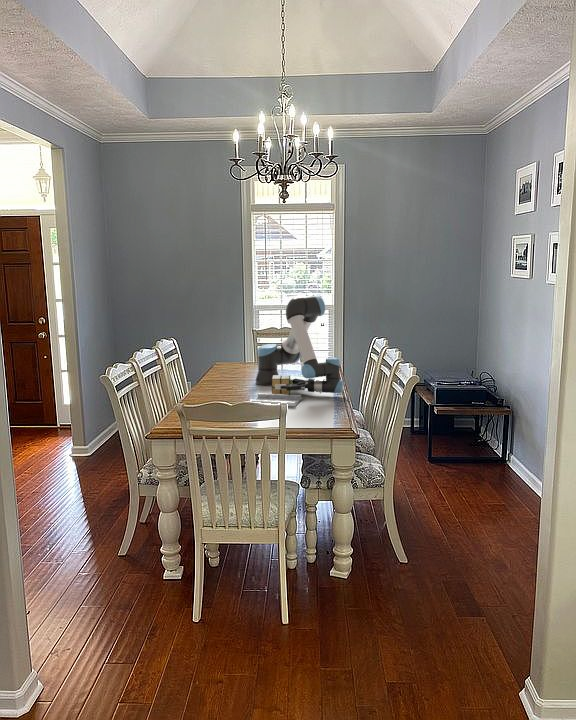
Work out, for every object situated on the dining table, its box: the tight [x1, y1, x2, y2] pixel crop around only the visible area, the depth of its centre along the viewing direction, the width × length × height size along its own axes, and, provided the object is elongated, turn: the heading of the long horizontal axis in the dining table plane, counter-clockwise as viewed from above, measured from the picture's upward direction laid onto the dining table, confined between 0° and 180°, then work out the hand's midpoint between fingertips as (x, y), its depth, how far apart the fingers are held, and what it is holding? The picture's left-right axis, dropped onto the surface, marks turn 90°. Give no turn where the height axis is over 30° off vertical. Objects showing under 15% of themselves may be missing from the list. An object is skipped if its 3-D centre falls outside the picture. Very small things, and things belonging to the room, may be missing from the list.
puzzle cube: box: [271, 374, 291, 395], centre depth 334 cm, size 10×10×10 cm
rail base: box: [249, 392, 302, 409], centre depth 315 cm, size 24×17×3 cm
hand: (278, 383), depth 334 cm, fingers open, 13 cm apart
